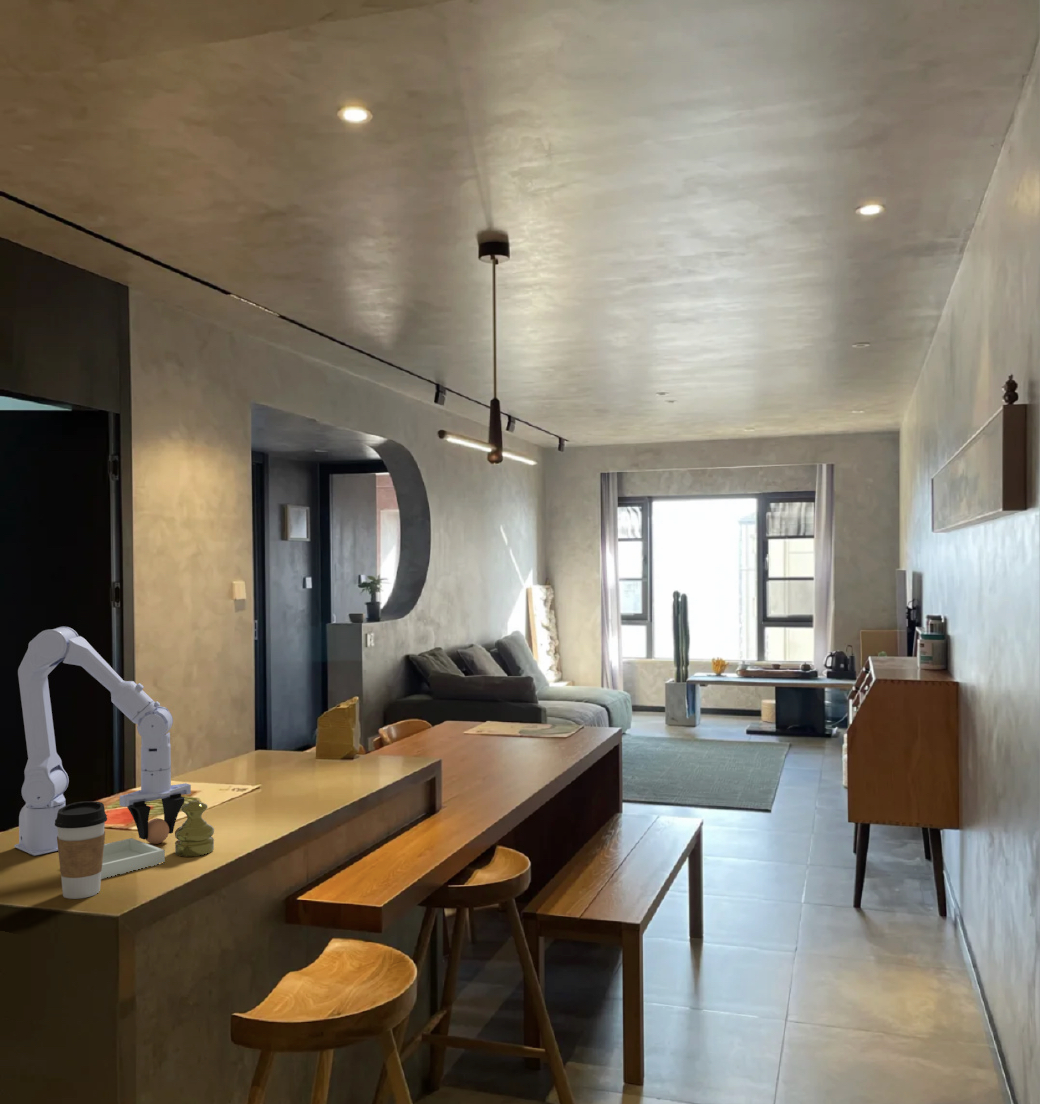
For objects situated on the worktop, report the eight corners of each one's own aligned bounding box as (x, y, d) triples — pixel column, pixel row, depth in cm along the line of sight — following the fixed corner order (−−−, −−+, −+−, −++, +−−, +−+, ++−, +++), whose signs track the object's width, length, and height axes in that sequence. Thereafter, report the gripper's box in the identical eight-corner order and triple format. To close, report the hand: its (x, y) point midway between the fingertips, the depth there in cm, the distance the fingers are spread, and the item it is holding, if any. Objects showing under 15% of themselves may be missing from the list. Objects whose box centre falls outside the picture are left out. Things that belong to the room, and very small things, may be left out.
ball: (138, 843, 205) (138, 819, 205) (161, 838, 209) (161, 814, 209) (151, 848, 202) (151, 823, 202) (174, 842, 205) (173, 818, 205)
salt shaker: (172, 858, 195) (172, 806, 195) (177, 847, 202) (177, 797, 202) (212, 856, 196) (211, 804, 197) (216, 845, 204) (215, 795, 204)
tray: (68, 865, 191) (68, 852, 191) (131, 850, 200) (131, 838, 200) (100, 879, 183) (100, 865, 183) (164, 863, 192) (164, 849, 192)
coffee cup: (115, 884, 180) (114, 800, 180) (96, 901, 171) (96, 812, 171) (67, 885, 179) (66, 801, 179) (46, 902, 171) (45, 813, 171)
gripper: (131, 777, 197) (132, 846, 197) (198, 765, 208) (198, 831, 208) (114, 772, 202) (114, 840, 202) (180, 760, 213) (180, 825, 213)
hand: (156, 835), depth 205 cm, fingers closed on ball, 5 cm apart
